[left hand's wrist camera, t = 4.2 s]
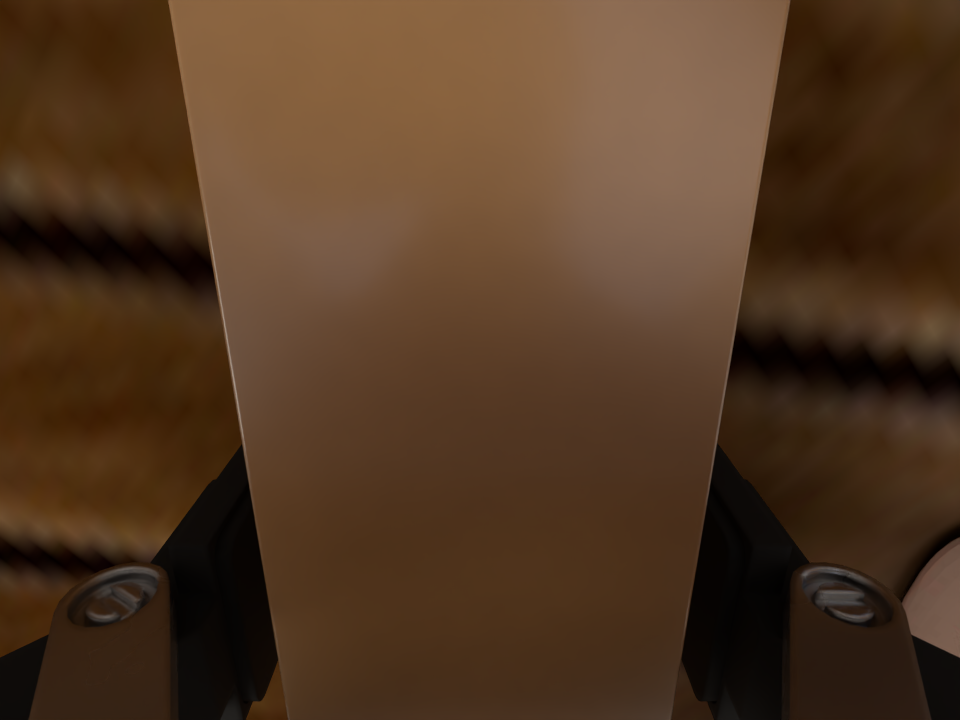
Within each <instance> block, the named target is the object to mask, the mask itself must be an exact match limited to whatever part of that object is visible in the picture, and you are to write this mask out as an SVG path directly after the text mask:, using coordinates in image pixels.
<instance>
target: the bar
mask: <svg viewBox="0 0 960 720" xmlns="http://www.w3.org/2000/svg"><path fill="white" fill-rule="evenodd" d="M168 2H169V8H170V14H171V20H172V26H173V32H174V38H175V44H176V50H177V56H178V62H179V68H180V74H181V80H182V86H183V92H184V98H185V104H186V110H187V116H188V122H189V128H190V133H191V139H192V145H193V151H194V157H195V163H196V169H197V175H198V181H199V187H200V193H201V199H202V205H203V211H204V217H205V223H206V229H207V235H208V241H209V247H210V253H211V259H212V265H213V271H214V277H215V283H216V289H217V295H218V301H219V307H220V313H221V319H222V325H223V331H224V337H225V343H226V349H227V355H228V361H229V367H230V373H231V379H232V385H233V391H234V397H235V403H236V409H237V415H238V421H239V427H240V433H241V439H242V445H243V451H244V457H245V463H246V469H247V475H248V481H249V487H250V493H251V499H252V505H253V511H254V517H255V523H256V529H257V535H258V541H259V547H260V553H261V559H262V565H263V571H264V577H265V583H266V589H267V595H268V601H269V607H270V613H271V619H272V625H273V631H274V637H275V643H276V649H277V655H278V661H279V667H280V673H281V679H282V685H283V691H284V697H285V703H286V709H287V715H288V720H671V717H672V711H673V705H674V699H675V693H676V687H677V681H678V675H679V669H680V663H681V657H682V651H683V645H684V639H685V633H686V627H687V621H688V615H689V609H690V603H691V597H692V591H693V585H694V579H695V573H696V567H697V561H698V555H699V549H700V543H701V537H702V531H703V524H704V518H705V512H706V506H707V500H708V494H709V488H710V482H711V476H712V470H713V464H714V458H715V452H716V446H717V440H718V434H719V428H720V422H721V416H722V410H723V404H724V398H725V392H726V386H727V380H728V374H729V368H730V362H731V356H732V350H733V344H734V338H735V332H736V326H737V320H738V314H739V308H740V302H741V296H742V289H743V283H744V277H745V271H746V265H747V259H748V253H749V247H750V241H751V235H752V229H753V223H754V217H755V211H756V205H757V199H758V193H759V187H760V181H761V175H762V169H763V163H764V157H765V151H766V145H767V139H768V133H769V127H770V121H771V115H772V109H773V103H774V97H775V91H776V85H777V79H778V73H779V67H780V61H781V54H782V48H783V42H784V36H785V30H786V24H787V18H788V12H789V6H790V0H168Z"/></svg>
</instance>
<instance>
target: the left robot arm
mask: <svg viewBox="0 0 960 720" xmlns="http://www.w3.org/2000/svg"><path fill="white" fill-rule="evenodd" d="M681 659H682V661H683V664H684V667H685V669H686V672H687V675H688V678H689V680H690V683H691V686H692V688H693V691H694V693H695V696H696V698H697V699H698V700H699V701H707V702H708V705H709V707H710V710H711V712H712V715H713V717H714V720H960V657H957V656H955V655H953V654H951V653H949V652H947V651H945V650H943V649H941V648H939V647H936V646H934V645H932V644H930V643H928V642H926V641H924V640H922V639H920V638H918V637H915V636H913V635H911V632H910V627H909V623H908V619H907V615H906V612H905V610H904V608H903V605H902V603H901V601H900V600H899V599H898V598H897V597H896V596H895V595H894V594H893V592H892V591H891V590H890V589H888V588H887V587H886V586H884V585H883V584H881V583H880V582H879V581H877V580H876V579H874V578H872V577H870V576H868V575H866V574H864V573H862V572H860V571H858V570H855V569H852V568H849V567H846V566H843V565H838V564H832V563H827V562H823V563H809V561H808V560H807V559H806V557H805V556H804V555H803V553H802V552H801V551H800V549H799V548H798V547H797V545H796V544H795V542H794V541H793V540H792V538H791V537H790V536H789V534H788V533H787V532H786V530H785V529H784V528H783V526H782V525H781V524H780V522H779V521H778V520H777V518H776V517H775V515H774V514H773V513H772V511H771V510H770V509H769V507H768V506H767V505H766V503H765V502H764V501H763V499H762V498H761V497H760V495H759V494H758V493H757V491H756V490H755V488H754V487H753V486H752V485H751V484H750V483H749V482H748V481H747V480H744V479H743V478H742V476H741V475H740V474H739V472H738V471H737V470H736V468H735V467H734V465H733V464H732V463H731V461H730V460H729V459H728V457H727V456H726V455H725V453H724V452H723V450H722V449H721V448H720V446H719V445H718V444H717V446H716V452H715V458H714V464H713V470H712V476H711V482H710V488H709V494H708V500H707V506H706V512H705V518H704V524H703V531H702V537H701V543H700V549H699V555H698V561H697V567H696V573H695V579H694V585H693V591H692V597H691V603H690V609H689V615H688V621H687V627H686V633H685V639H684V645H683V651H682V657H681ZM277 661H278V655H277V649H276V643H275V637H274V631H273V625H272V619H271V613H270V607H269V601H268V595H267V589H266V583H265V577H264V571H263V565H262V559H261V553H260V547H259V541H258V535H257V529H256V523H255V517H254V511H253V505H252V499H251V493H250V487H249V481H248V475H247V469H246V463H245V457H244V451H243V445H241V446H240V448H239V449H238V450H237V452H236V453H235V455H234V456H233V457H232V459H231V460H230V461H229V463H228V464H227V465H226V467H225V468H224V470H223V471H222V472H221V474H220V475H219V476H218V478H217V479H216V480H213V481H212V482H211V483H210V484H208V486H207V487H206V488H205V490H204V491H203V493H202V494H201V495H200V497H199V498H198V499H197V501H196V502H195V503H194V505H193V506H192V507H191V509H190V510H189V511H188V513H187V514H186V515H185V517H184V518H183V520H182V521H181V522H180V524H179V525H178V526H177V528H176V529H175V530H174V532H173V533H172V534H171V536H170V537H169V538H168V540H167V541H166V542H165V544H164V545H163V546H162V548H161V549H160V551H159V552H158V553H157V555H156V556H155V557H154V559H153V560H152V561H151V563H137V562H133V563H128V564H122V565H117V566H114V567H111V568H108V569H105V570H102V571H100V572H98V573H96V574H94V575H92V576H90V577H88V578H86V579H84V580H83V581H81V582H80V583H79V584H77V585H76V586H74V587H73V588H72V589H70V590H69V591H68V592H67V594H66V595H65V596H64V597H63V598H62V599H61V600H60V601H59V603H58V605H57V608H56V610H55V612H54V615H53V619H52V623H51V627H50V632H49V635H47V636H45V637H42V638H40V639H38V640H36V641H34V642H32V643H30V644H28V645H26V646H24V647H21V648H19V649H17V650H15V651H13V652H11V653H9V654H7V655H5V656H3V657H0V720H246V717H247V715H248V712H249V710H250V707H251V705H252V702H253V701H261V700H262V699H263V698H264V696H265V693H266V691H267V688H268V686H269V683H270V680H271V678H272V675H273V672H274V669H275V667H276V664H277Z"/></svg>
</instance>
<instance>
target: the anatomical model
mask: <svg viewBox="0 0 960 720" xmlns="http://www.w3.org/2000/svg"><path fill="white" fill-rule="evenodd" d="M902 605H903V608H904V610H905V612H906V615H907V619H908V623H909V627H910V632H911V635H913V636H915V637H918V638H920V639H922V640H924V641H926V642H928V643H930V644H932V645H934V646H936V647H939V648H941V649H943V650H945V651H947V652H949V653H951V654H953V655H955V656H957V657H960V537H958V538H957V539H955V540H953V541H951V542H949V543H948V544H947V545H946V546H945V547H943V548H942V549H941V550H940V551H938V552H937V553H936V554H935V555H934V556H933V557H932V558H931V560H930V561H929V562H928V563H927V564H926V565H925V567H924V568H923V569H922V570H921V571H920V573H919V574H918V576H917V578H916V579H915V581H914V582H913V584H912V586H911V587H910V589H909V590H908V592H907V594H906V595H905V597H904V599H903V601H902Z"/></svg>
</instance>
